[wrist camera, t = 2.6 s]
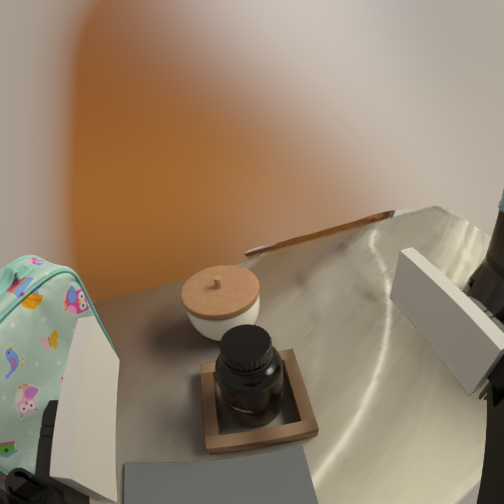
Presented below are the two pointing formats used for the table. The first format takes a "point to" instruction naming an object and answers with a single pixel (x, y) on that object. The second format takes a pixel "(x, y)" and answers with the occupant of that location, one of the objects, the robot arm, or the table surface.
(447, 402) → the table surface
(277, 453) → the slate mat
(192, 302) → the lidded jar
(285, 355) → the walnut collar
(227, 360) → the supplement bottle
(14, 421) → the lunch box
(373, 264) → the table surface
